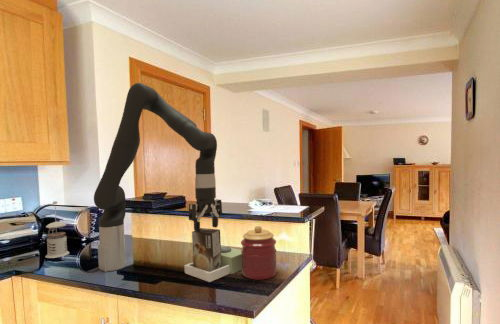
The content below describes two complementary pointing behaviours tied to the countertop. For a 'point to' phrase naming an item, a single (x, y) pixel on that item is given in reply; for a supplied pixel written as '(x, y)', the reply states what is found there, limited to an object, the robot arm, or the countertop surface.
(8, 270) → the countertop surface
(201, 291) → the countertop surface
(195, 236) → the coffee box
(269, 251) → the canister
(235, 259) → the dome button panel
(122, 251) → the robot arm
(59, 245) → the french press
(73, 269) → the countertop surface
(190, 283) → the countertop surface
